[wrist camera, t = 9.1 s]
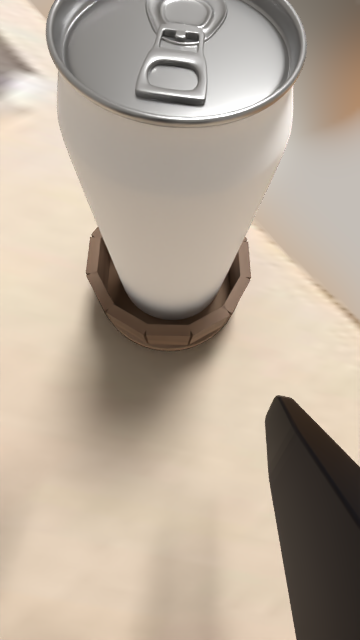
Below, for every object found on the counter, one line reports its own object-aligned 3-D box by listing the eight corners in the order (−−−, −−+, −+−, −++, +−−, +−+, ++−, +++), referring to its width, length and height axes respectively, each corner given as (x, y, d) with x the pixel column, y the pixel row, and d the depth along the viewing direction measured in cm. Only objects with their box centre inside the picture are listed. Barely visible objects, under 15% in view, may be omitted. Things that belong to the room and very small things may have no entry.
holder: (263, 308, 18) (286, 288, 14) (139, 378, 16) (131, 373, 13) (193, 206, 20) (198, 167, 16) (77, 258, 18) (57, 227, 15)
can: (223, 239, 18) (321, -39, 6) (216, 328, 16) (337, 159, 5) (131, 228, 18) (65, -74, 6) (114, 316, 16) (-23, 113, 5)
